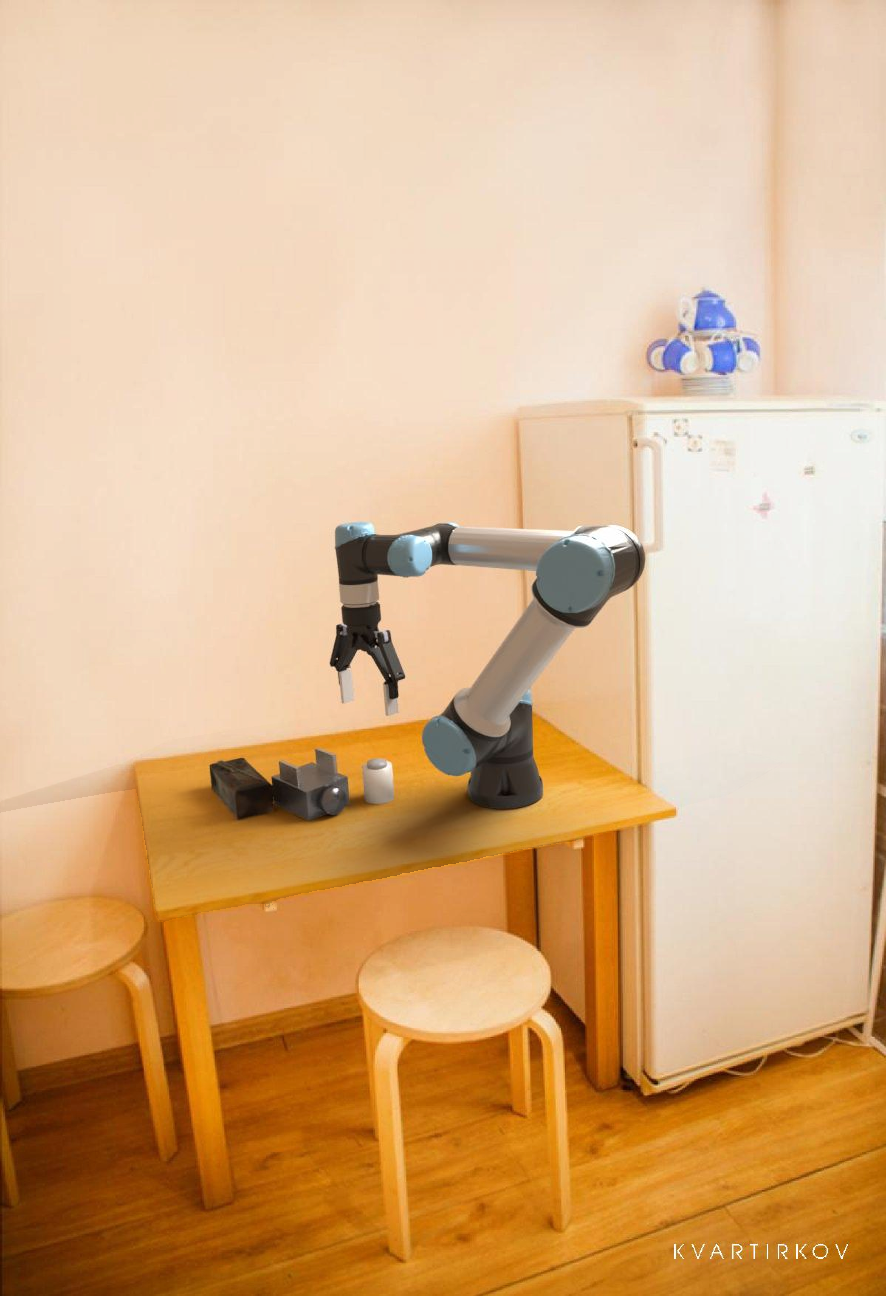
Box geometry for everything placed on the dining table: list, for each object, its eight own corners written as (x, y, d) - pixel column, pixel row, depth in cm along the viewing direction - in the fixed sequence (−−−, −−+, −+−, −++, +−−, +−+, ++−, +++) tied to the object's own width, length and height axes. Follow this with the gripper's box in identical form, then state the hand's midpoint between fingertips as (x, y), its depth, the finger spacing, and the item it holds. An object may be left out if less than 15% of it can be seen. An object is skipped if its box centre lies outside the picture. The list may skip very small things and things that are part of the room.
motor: (357, 807, 195) (353, 760, 193) (316, 824, 189) (311, 776, 186) (314, 789, 206) (310, 744, 203) (274, 804, 199) (269, 758, 196)
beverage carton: (247, 781, 212) (244, 753, 210) (276, 813, 196) (273, 782, 194) (210, 790, 208) (207, 761, 207) (237, 823, 192) (234, 791, 190)
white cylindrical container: (400, 797, 199) (397, 761, 197) (377, 807, 195) (374, 770, 193) (381, 789, 204) (378, 754, 201) (358, 798, 200) (355, 762, 198)
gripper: (418, 606, 184) (426, 714, 190) (335, 593, 202) (345, 692, 207) (388, 614, 179) (397, 724, 185) (306, 600, 197) (316, 701, 202)
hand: (369, 707), depth 196 cm, fingers open, 13 cm apart
